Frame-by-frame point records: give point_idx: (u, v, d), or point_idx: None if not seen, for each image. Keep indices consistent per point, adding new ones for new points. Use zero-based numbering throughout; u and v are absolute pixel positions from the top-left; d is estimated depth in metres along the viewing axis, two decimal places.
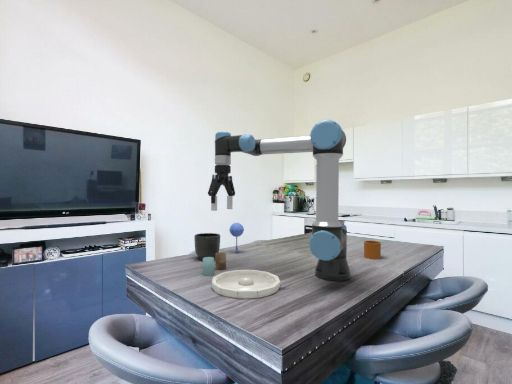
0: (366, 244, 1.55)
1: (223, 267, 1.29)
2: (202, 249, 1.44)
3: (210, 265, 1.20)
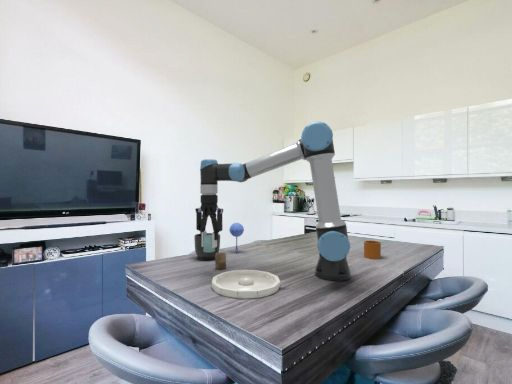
0: (366, 244, 1.55)
1: (223, 267, 1.29)
2: (202, 249, 1.44)
3: (211, 242, 1.20)
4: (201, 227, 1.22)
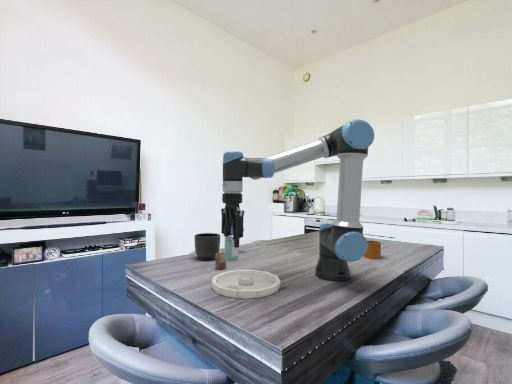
0: None
1: (223, 267, 1.29)
2: (202, 249, 1.44)
3: None
4: None
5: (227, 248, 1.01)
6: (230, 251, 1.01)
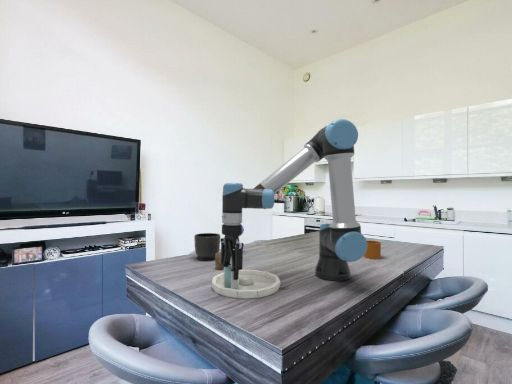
0: None
1: (223, 267, 1.29)
2: (202, 249, 1.44)
3: None
4: None
5: (227, 275, 1.01)
6: (230, 278, 1.01)
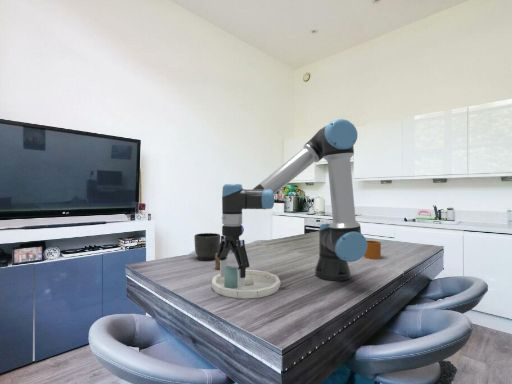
0: None
1: None
2: (202, 249, 1.44)
3: None
4: None
5: (226, 275, 1.01)
6: (229, 278, 1.01)
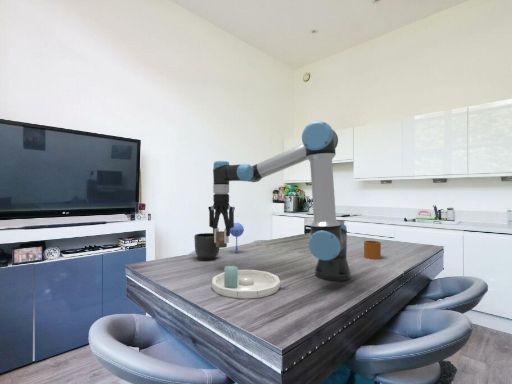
0: (366, 244, 1.55)
1: (224, 245, 1.29)
2: (202, 249, 1.44)
3: None
4: (214, 224, 1.31)
5: (226, 275, 1.01)
6: (229, 278, 1.01)
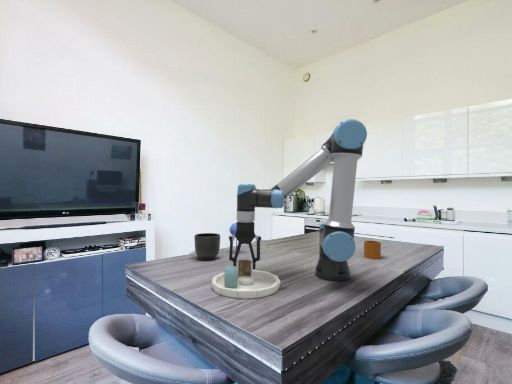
0: (366, 244, 1.55)
1: None
2: (202, 249, 1.44)
3: None
4: (236, 257, 1.12)
5: (226, 275, 1.01)
6: (229, 278, 1.01)
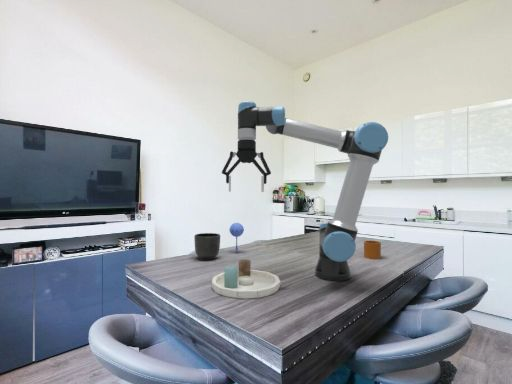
0: (366, 244, 1.55)
1: None
2: (202, 249, 1.44)
3: None
4: (229, 171, 1.12)
5: (226, 275, 1.01)
6: (229, 278, 1.01)
